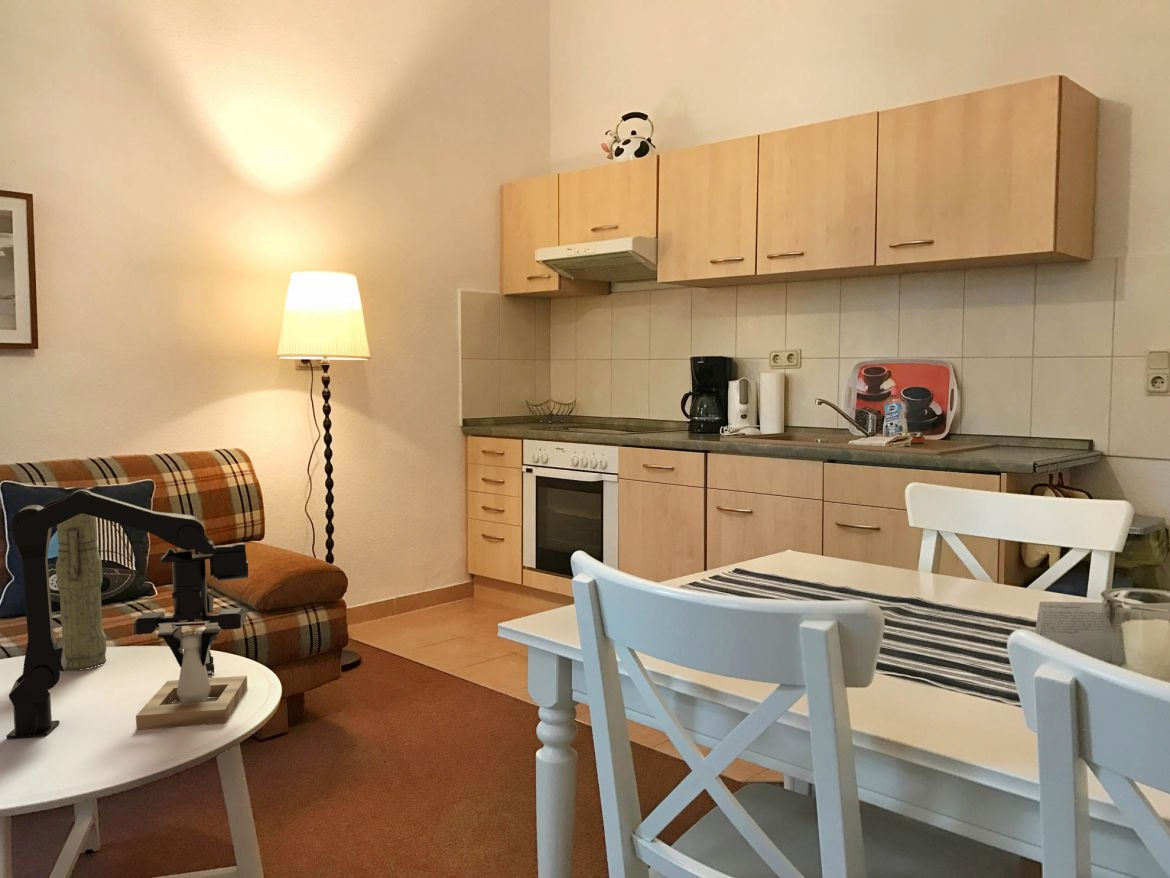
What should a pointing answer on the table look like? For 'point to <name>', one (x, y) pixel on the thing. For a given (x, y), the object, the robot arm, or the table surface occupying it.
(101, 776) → the table surface
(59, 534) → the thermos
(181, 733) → the table surface
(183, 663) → the salt shaker
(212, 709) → the wooden flat frame
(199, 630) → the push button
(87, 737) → the table surface
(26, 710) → the robot arm
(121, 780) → the table surface
